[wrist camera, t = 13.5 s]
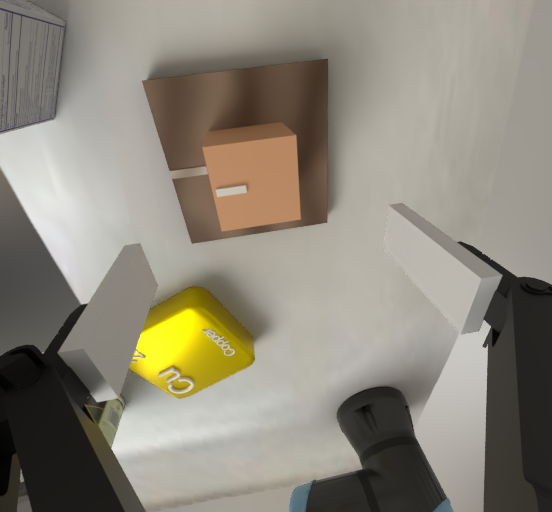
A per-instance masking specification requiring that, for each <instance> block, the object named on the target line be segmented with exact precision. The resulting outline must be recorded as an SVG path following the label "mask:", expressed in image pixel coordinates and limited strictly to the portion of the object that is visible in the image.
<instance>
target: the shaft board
mask: <svg viewBox="0 0 552 512" xmlns="http://www.w3.org/2000/svg"><path fill="white" fill-rule="evenodd" d="M142 83H143V86H144V89H145V92H146V96H147V99H148V102H149V105H150V109H151V112H152V115H153V118H154V122H155V125H156V128H157V131H158V135H159V138H160V141H161V144H162V148H163V151H164V154H165V157H166V161H167V164H168V167H169V170H170V175H171V178H172V180H173V183H174V187H175V190H176V193H177V196H178V200H179V203H180V206H181V209H182V213H183V216H184V219H185V222H186V226H187V229H188V232H189V235H190V239H191V242H192V244H193V243H199V242H206V241H212V240H218V239H225V238H231V237H238V236H244V235H251V234H257V233H263V232H270V231H276V230H283V229H289V228H295V227H302V226H308V225H315V224H321V223H327V138H328V59H322V60H314V61H305V62H297V63H288V64H280V65H271V66H263V67H254V68H246V69H237V70H229V71H220V72H212V73H203V74H195V75H187V76H178V77H170V78H161V79H153V80H144V81H142ZM278 122H282V123H283V124H284V125H286V126H287V127H288V128H289V129H290V130H291V131H292V132H293V133H295V134H296V139H297V158H298V176H299V195H300V214H301V220H295V221H288V222H281V223H275V224H268V225H262V226H255V227H249V228H242V229H235V230H229V231H221V227H220V222H219V218H218V214H217V209H216V205H215V201H214V196H213V192H212V188H211V183H210V179H209V175H208V170H207V166H206V162H205V157H204V153H203V149H202V147H203V144H204V141H205V139H206V136H207V133H208V131H216V130H223V129H231V128H239V127H247V126H254V125H262V124H270V123H278Z"/></svg>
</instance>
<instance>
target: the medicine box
mask: <svg viewBox="0 0 552 512" xmlns="http://www.w3.org/2000/svg"><path fill="white" fill-rule="evenodd" d="M65 26H66V22H65V21H64V20H62V19H60V18H58V17H56V16H55V15H53V14H51V13H49V12H47V11H45V10H43V9H42V8H40V7H38V6H36V5H34V4H32V3H30V2H29V1H27V0H0V134H2V133H6V132H10V131H14V130H17V129H21V128H25V127H28V126H32V125H36V124H40V123H43V122H47V121H51V120H54V118H55V109H56V100H57V92H58V83H59V75H60V66H61V57H62V48H63V40H64V31H65Z"/></svg>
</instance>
